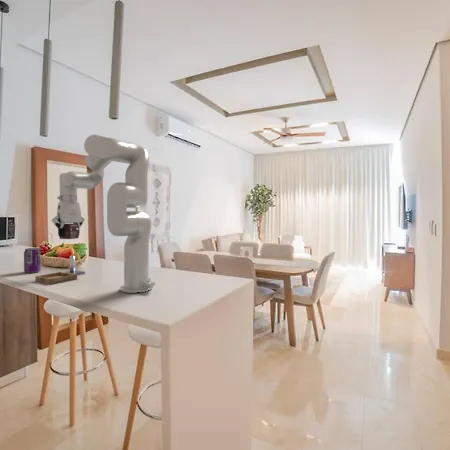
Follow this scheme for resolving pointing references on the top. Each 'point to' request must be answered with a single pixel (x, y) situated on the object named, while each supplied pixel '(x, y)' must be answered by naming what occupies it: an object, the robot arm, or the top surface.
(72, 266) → the gauge stand
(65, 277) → the tray
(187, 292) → the top surface
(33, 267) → the beverage can
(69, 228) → the box
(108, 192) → the robot arm
